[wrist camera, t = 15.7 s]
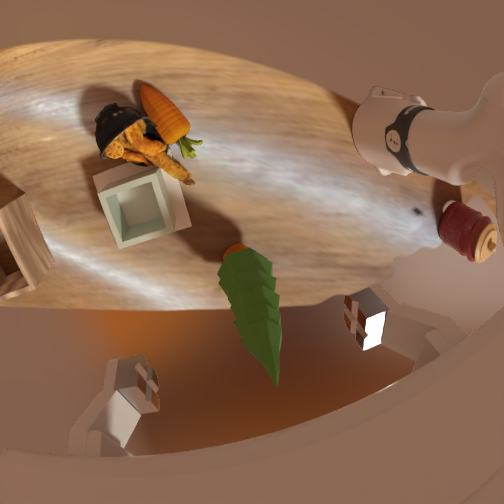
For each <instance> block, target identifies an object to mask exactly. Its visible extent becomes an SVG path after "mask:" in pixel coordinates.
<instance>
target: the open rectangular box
mask: <svg viewBox="0 0 504 504" xmlns="http://www.w3.org/2000/svg"><path fill="white" fill-rule="evenodd" d="M167 156H168V157H169V158H170V159H171V160H173V158H172V154H171V150H170V149H169V150H168V152H167ZM92 177H93V180H94V183H95V186H96V189H97V191H98V197H99V199H100V202H101V205H102V208H103V210H104V213H105V216H106V218H107V221H108V223H109V226H110V228H111V231H112V233H113V236H114V238H115V240H116V243H117V245H118V247H119V249H121V248H125V247H128V246H131V245H134V244H137V243H140V242H144V241H147V240H150V239H153V238H157V237H160V236H163V235H167V234H170V233H173V232H175V231H178V230H181V229H185V228H188V227H192V223H191V220H190V217H189V214H188V210H187V207H186V203H185V200H184V197H183V193H182V190H181V186H180V183H179V180H178V179H175V178H173V177H172V176H171V175H169V174H168V173H166V172H165V171H164V170H163V169H161V168H159V167H158V166H156V165H154V167H151V166H148V167H144V166H138V165H135V164H133V163H131V162H127V163H125V164H122V165H119V166H116V167H114V168H111V169H109V170H106V171H103V172H101V173H98V174H96V175H94V176H92Z"/></svg>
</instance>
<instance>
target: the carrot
mask: <svg viewBox="0 0 504 504" xmlns="http://www.w3.org/2000/svg"><path fill="white" fill-rule="evenodd" d="M140 96H141V101H142V105H143V108H144V111H145V113H146V115H147V116H148V117H149V118H150V122H151V123H154V124H156V125H157V127H155V129H156V131H157V133H158V134H159V136H160V137H161V139H162V140H163V141H164V142H165V143H166V144H169V145H172V144H174V143H176V142H178V143H179V145H180V149H181V153H182V156H183V158H188V156H189V157H190V158H192V159H193V158H195V157H196V155H195V154H194V152H195V150H194V149H193V148H192V147H191V146H192V144H194V145H201V144H202V143H203V141H202V140H199V141H196V140H191V139H189V138H187V137H185V136H186V135H187V134H188V132H189V130H190V123H189V122H188V120H187V119H186V118H185V116H184V115H183V114H182V113H181V111H180V110H179V109H178V108H177V107H176V106H175V104H174V103H173V102H172V101H170V100H169V99H168V98H167V97H166V96H165V95H164V94H162V93H161V92H160V91H158V90H156V89H154V88H152V87H150V86H147V85H141V86H140ZM187 155H188V156H187Z"/></svg>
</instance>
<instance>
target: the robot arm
mask: <svg viewBox="0 0 504 504" xmlns="http://www.w3.org/2000/svg"><path fill="white" fill-rule="evenodd" d="M381 92H382V94H381ZM352 134H353V140H354V143H355V146H356V148H357V150H358V152H359V153H360V155H361V156H362V157H363V158H364V159H365V160H366V161H368V162H369V163H371V164H373V165H374V166H375V168H376V169H377V171H378V172H379V173H380V174H381V175H384V176H386V175H388V174H391V173H393V172H394V173H398V174H401V175H407V174H409V173H411V172H413V173H416V174H421V175H426V176H428V175H430V176H433V177H435V178H438V179H440V180H442V181H445V182H447V183H450V184H452V185H457V186H458V185H464V184H467V183H469V182H471V181H472V180H474V179H475V178H476V176H477V175H478V173H479V172H480V170H481V168H482V167H483V168H485V169H487V170H488V171H489V172H490V173H491V174H492V176H493V180H494V188H495V200H496V217H497V221H498V226H499V231H500V235H501V239H502V243H503V246H504V72H502V73H500V74H497V75H495V76H494V77H492V78H491V79H490V80H489V81H488V82H487V84H486V85H485V86H484V89H483V90H482V93H481V96H480V99H479V101H478V102H477V104H476V105H475V106H474V107H473V108H472V109H470V110H468V111H465V112H445V111H436V110H434V109H432V108H430V107H427V106H426V104H425V102H424V101H423V100H422V99H421V97H419V96H412V95H406V94H403V93H399V92H396V91H393V90H389V89H385V88H381V87H376V86H374V87H373V88H372V89H371V91H370V93H369V96H368V98H367V99H366V100H365V101H364V102H363V103H362V104H361V105H360V106H359V108H358V109H357V111H356V113H355V116H354V119H353V124H352ZM344 304H345V305H346V309H345V310H344V320H345V324H346V326H347V328H348V330H349V331H350V332H351V333H353V334H356V341H357V342H358V344H359V345H360V347H361V348H362V350H366V349H368V348H371V347H373V346H375V345H377V344H380V343H381V344H382V345H384V346H386V347H388V348H390V349H392V350H394V351H396V352H398V353H400V354H402V355H404V356H406V357H408V358H410V359H412V360H414V361H416V363H415V365H414V368H413V370H412V373H411V374H409V375H408V376H406V377H404V378H402V379H401V380H399V381H397V382H395V383H393V384H391V385H389V386H388V387H386V388H384V389H382V390H380V391H378V392H376V393H374V394H372V395H370V396H368V397H366V398H363V399H361V400H359V401H357V402H355V403H353V404H350V405H348V406H346V407H343V408H341V409H338V410H336V411H334V412H331V413H329V414H326V415H324V416H321V417H318V418H316V419H313V420H310V421H307V422H304V423H302V424H299V425H296V426H293V427H290V428H286V429H283V430H280V431H277V432H274V433H270V434H267V435H263V436H259V437H256V438H252V439H248V440H243V441H239V442H235V443H231V444H226V445H221V446H216V447H211V448H205V449H199V450H192V451H186V452H178V453H169V454H160V455H147V456H133V455H132V454H131V453H129V452H128V451H126V450H125V449H124V447H125V445H126V443H127V441H128V439H129V437H130V435H131V434H132V432H133V430H134V428H135V426H136V424H137V422H138V420H139V418H140V416H141V414H144V413H150V412H156V411H159V397H158V396H157V394H156V392H157V391H158V389H159V382H158V377H157V374H156V372H155V370H154V369H153V367H151V366H149V365H147V361H148V360H147V359H146V358H145V356H144V355H136V356H130V357H124V358H120V359H114V360H110V361H109V362H108V364H107V369H106V375H105V381H104V387H103V392H100V393H99V394H98V395H97V396H96V398H95V399H94V400H93V402H92V403H91V404H90V405H89V407H88V408H87V409H86V411H85V412H84V413H83V414H82V416H81V417H80V418H79V419H78V421H77V422H76V423H75V425H74V426H73V427H72V429H71V431H70V438H69V445H68V453H67V455H61V454H52V453H45V452H38V451H31V450H26V449H21V448H16V447H8V448H6V449H5V450H4V451H3V452H2V453H1V454H0V504H504V307H503V308H501V309H500V310H499V311H498V312H497V313H496V314H495V315H493V316H492V317H491V318H490V319H489V320H487V321H486V322H485V323H484V324H483V325H481V326H480V327H479V328H478V329H476V330H475V331H474V332H472V333H471V334H470V335H469V336H468V335H467V334H466V333H465V332H464V331H463V330H462V329H461V328H460V327H459V326H458V325H457V324H456V323H455V322H454V321H453V320H452V319H451V318H450V317H446V316H443V315H440V314H436V313H433V312H429V311H426V310H423V309H420V308H416V307H413V306H410V305H406V304H401V305H400V304H399V303H398V302H397V301H396V300H395V299H394V298H393V297H392V296H391V295H390V294H389V293H388V292H387V291H386V290H385V289H384V288H383V287H382V286H381V285H380V284H379V283H375V284H372V285H370V286H368V287H365V288H363V289H360V290H358V291H355V292H352V293H350V294H347V295H345V297H344Z"/></svg>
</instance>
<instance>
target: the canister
mask: <svg viewBox="0 0 504 504" xmlns="http://www.w3.org/2000/svg"><path fill="white" fill-rule="evenodd" d="M439 236H440V238H441V240H442V241H443V242H444V243H445V244H446V245H448V246H451V247H452V248H453V249H455V250H456V251H458V252H459V253H460V254H461V255H463V256H467V258H468V260H469V261H476V262H477V263H481V262H483V261H484V260H486V259H487V258H488V257H489V256H490V255H491V253H493V252H495V251H496V247H497V246H496V241H497V228H496V225H495V224H494V223H492V221H491V219H490V218H489V217H487V216H483V215H482V214H481V213H480V212H478V211H475V210H473V209H471V208H470V207H468V206H466V205H465V204H463V203H461V202H453V203H452V204H450V205H449V206H448V207H447V208H446V210H445V211H444V213H443V215H442V218H441V221H440V225H439Z"/></svg>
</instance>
